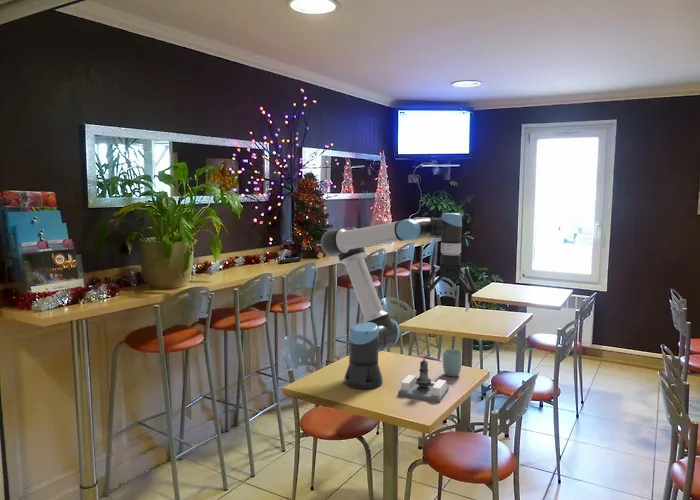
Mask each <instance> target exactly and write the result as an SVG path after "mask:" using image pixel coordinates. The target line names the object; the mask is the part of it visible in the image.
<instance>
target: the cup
mask: <svg viewBox="0 0 700 500" xmlns="http://www.w3.org/2000/svg"><path fill="white" fill-rule="evenodd" d="M462 359H463V352H462V350H460V349H456V348H455V349H453V348H448V349H446V348H445V349H444V350H443V351H442V368H443V369H442V370H443V372H444V374H445V375H446V376H448V377H457V376H459V375H460V373H461V370H462V362H463V360H462Z"/></svg>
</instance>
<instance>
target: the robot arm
mask: <svg viewBox="0 0 700 500" xmlns="http://www.w3.org/2000/svg"><path fill="white" fill-rule="evenodd" d="M462 217H463V216H462V215H461V214H460V213H458V212H443V213H442V214H441V216H440V217H424V216H420V217H419V216H417V217H413V218H406V219H402V220H399V221H398V220H397V221H392V222H387V223H382V224H377V225H372V226H371V225H370V226H366V227H361V228H360V227H359V228H356V227H350V226H346V227H342V228H341V227H340V228H332V229H328V230H327V231H325V232H324V233H323V235H322V236H321V239H320V247H321V250H322V251H323V253H324V254H326V255H328V256H329V257H336V258H337V257H338V260H339V263H341V264H342V265H344V266H345V269H346V272H347V274H348V276H349V279H350V281H351V285H352V288H353V290H354V292H355V293H354V294H355V296H356V298H357V300H358V304H359V307H360V309H361V312H362V315H363V317H364V318H363V320H362V322H358V323H355V324H353V325H352V326H351V327H350V329H349V331H348V332H349V334H348V347H349V348H348V366H347V369H346V372H345V375H344V384H345V385H346V386H347V387H349V388H351V389H355V390H356V389H357V390H370V389H375V388H379V387H381V386H382V384H383V375H382V371H381V368H380V365H379V353H380V352H382V351H384V350H386V349H388V348H389V349H390V348H391V347H393V346H394V345H396V343H397V342H398V341H399V339H400V336H401V330H400V326H399V324H398V322H397V321H396V320H394V319H393V318H391V316H390V314H389V312H387V311H385V310H384V308H383V305H382V303H381V300H380V298H379V295H378V292H377V290H376V287H375V284H374V282H373V279H372V276H371V274H370V271H369V269H368V266H367V263H366V260H365V255H366V254H367V253H366V249H365V248H367V247H373V246H379V245H385V244H392V243H397V242H405V241H413V240H416V239H424V238H440V239H441V240H440V253H441V254H440V262H439V263H440V265H439V266H438V265H436V264H434V265H432V266H431V272H430V273H429V275H428V277H427V279H426V281H425V283H424V285H423V286H422V288H423V289H424V290H426V291H427V299H428V300H429V299H430V300H429V309H433V308H434V307H435V290H434V288H435V287H436V286H437V284H439V283H440V282H441V280H442V279H443V278H444V279H451V280H454V279H456V280H457V281H458V282H459V284H460V286H462V288H463V289H464V290H465V292H466V293H465V307H464V309H465V311H464V312H468V311H470V310H469V309H470V304H471V303H472V301H473V300H472V299H473V294H476V293H477V292H478V289H477V286H476V284H475V281H474V280H473V277H472V275H471V274H470V267H468V266H467V267H461V263H462V262H461V260H462V258H461V257H462V255H461V253H462V231H463V230H462V229H463V218H462ZM438 271H439V272H440V273H441V274H439V276H438V277H437V278H436V279H435V280H434V281H433V282H432V280H433V278H434V276H435V274H436V272H438ZM461 272H462V273H463V274H464V276H465V278H466V281H467V282H468V284H467V283H466V281H465V280H464V279H463V277H462V275H461ZM431 282H432V283H431Z"/></svg>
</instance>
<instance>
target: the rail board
mask: <svg viewBox="0 0 700 500" xmlns="http://www.w3.org/2000/svg"><path fill="white" fill-rule="evenodd" d="M416 379H417V375H413V374H408V375H407V376H406V377H405V378H404V379H403V380H402V381H401V382H400V384H401V387H400V389H399V390H398V393H397V395H398V396H401V397H405V398H413V399H419V400H423V401H429V402H434V403H441V401H442V400H443V398H444V397H445V396H446V395H447V393H449V390H450V389H449V388H450V386H448V383H447V380H444V379H440V378H439V379H437V381H431V383H430V385H429V386H428V387H429V388H430V389H431V390H430V391H427V392H422V391H418V390H417V387H418V386H419V385H418V384H417V381H416Z"/></svg>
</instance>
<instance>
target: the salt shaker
mask: <svg viewBox="0 0 700 500" xmlns="http://www.w3.org/2000/svg"><path fill="white" fill-rule="evenodd" d="M419 363H420V364H419V370H418V371H419V377H416V381H417V384H418V385H419V386H418V387H417V390H418V391H422V392H427V391H430V390H431V389H430V388H429V387H428V386H429V385H430V383H431V381H432V379H431V378H430V377H429V375H428V374H429V369H428V368H429V367H428V365H429V363H428V361H427V360H426V359H425V358H423V360H421V361H420V362H419ZM432 382H433V381H432Z"/></svg>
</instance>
